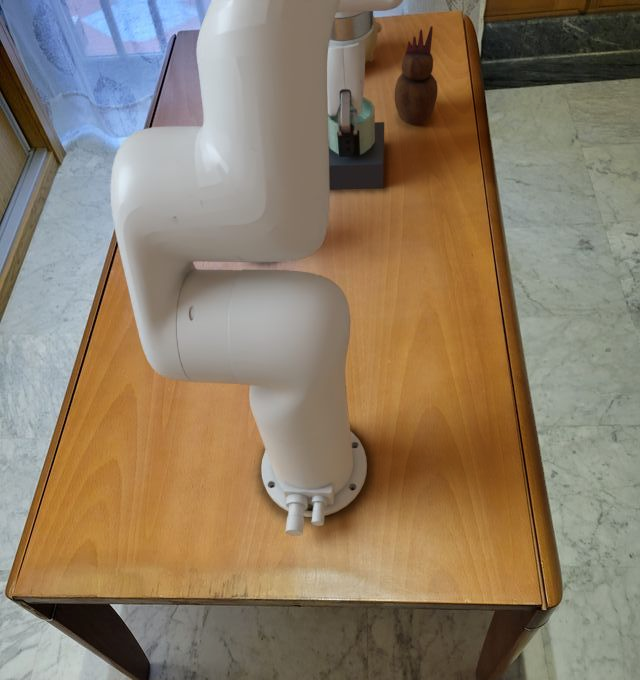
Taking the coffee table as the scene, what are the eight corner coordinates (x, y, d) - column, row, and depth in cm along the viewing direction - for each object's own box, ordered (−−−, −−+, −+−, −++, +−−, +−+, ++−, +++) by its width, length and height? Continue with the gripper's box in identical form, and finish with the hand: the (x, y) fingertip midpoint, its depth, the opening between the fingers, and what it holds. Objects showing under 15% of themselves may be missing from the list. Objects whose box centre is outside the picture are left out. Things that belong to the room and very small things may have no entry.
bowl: (374, 158, 96) (373, 125, 92) (326, 159, 97) (323, 127, 92) (375, 127, 100) (375, 94, 95) (329, 129, 101) (326, 96, 96)
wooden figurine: (440, 114, 107) (448, 21, 94) (424, 134, 105) (430, 41, 92) (405, 103, 109) (408, 11, 96) (389, 123, 107) (389, 31, 94)
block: (382, 188, 99) (382, 163, 96) (319, 189, 101) (316, 165, 97) (384, 146, 104) (384, 121, 100) (323, 148, 105) (321, 124, 102)
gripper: (320, -17, 87) (330, 103, 102) (310, 58, 79) (322, 177, 94) (375, -20, 86) (376, 102, 102) (371, 55, 78) (373, 175, 93)
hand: (350, 137), depth 98 cm, fingers closed on bowl, 7 cm apart
